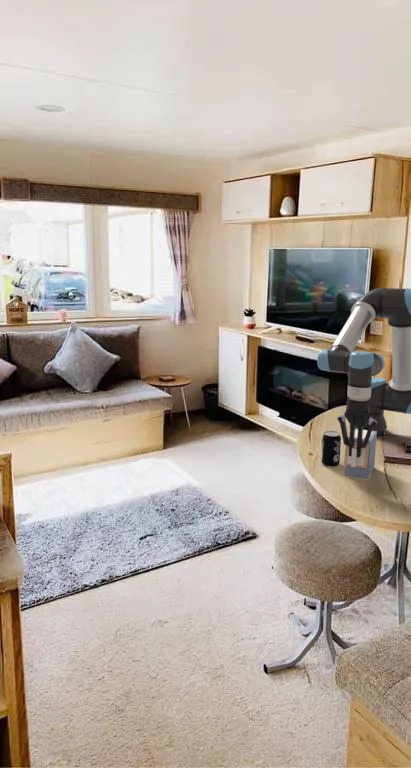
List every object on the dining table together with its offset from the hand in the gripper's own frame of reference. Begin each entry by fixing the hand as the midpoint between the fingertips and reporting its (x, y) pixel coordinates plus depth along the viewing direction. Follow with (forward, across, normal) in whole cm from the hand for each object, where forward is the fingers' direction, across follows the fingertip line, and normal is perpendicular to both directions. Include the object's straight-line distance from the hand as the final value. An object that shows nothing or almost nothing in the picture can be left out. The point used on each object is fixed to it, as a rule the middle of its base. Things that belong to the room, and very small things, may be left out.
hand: (353, 465), depth 189 cm
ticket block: (+6, 0, +11) cm, 12 cm away
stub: (-3, 0, +3) cm, 4 cm away
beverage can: (+6, -11, +13) cm, 18 cm away
